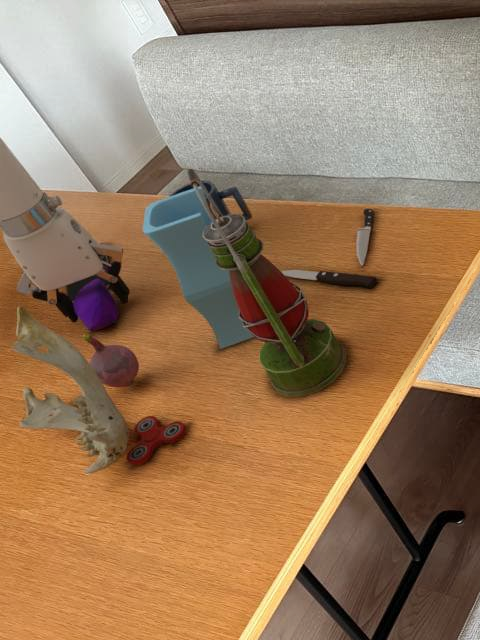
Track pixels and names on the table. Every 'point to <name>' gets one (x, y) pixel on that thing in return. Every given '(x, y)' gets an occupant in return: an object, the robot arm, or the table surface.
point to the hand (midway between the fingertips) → (101, 307)
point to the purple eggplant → (95, 305)
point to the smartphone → (84, 283)
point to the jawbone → (94, 407)
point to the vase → (196, 262)
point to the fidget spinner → (153, 438)
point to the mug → (220, 198)
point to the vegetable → (113, 363)
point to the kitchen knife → (334, 277)
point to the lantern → (272, 307)
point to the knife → (364, 236)
